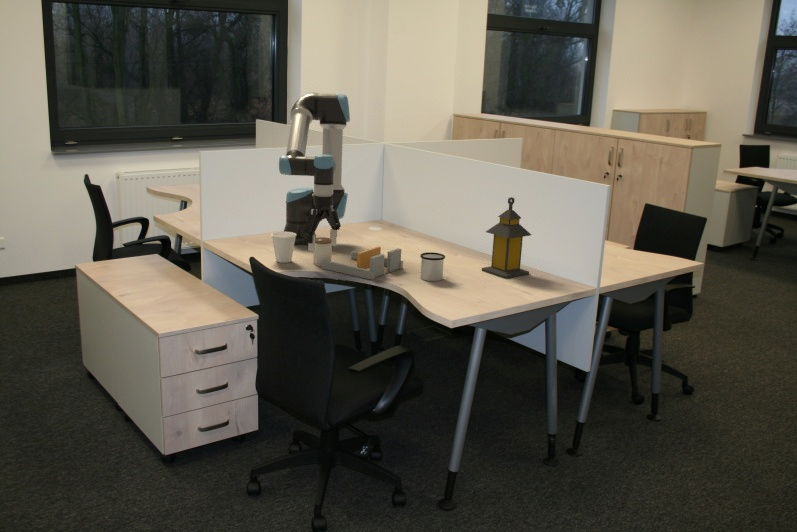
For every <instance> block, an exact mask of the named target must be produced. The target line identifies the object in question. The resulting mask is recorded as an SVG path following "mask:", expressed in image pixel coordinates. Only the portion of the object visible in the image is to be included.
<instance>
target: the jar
mask: <svg viewBox="0 0 797 532" xmlns="http://www.w3.org/2000/svg"><path fill="white" fill-rule="evenodd" d="M332 247H333V246H332V239H331V238H330V237H325V236H320V237H319V236H318V237H316V238H315V252H313V265H314V266H316V267H322V261H323V260H326V261H330V262H332Z"/></svg>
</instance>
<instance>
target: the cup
mask: <svg viewBox="0 0 797 532" xmlns="http://www.w3.org/2000/svg"><path fill="white" fill-rule="evenodd" d="M270 235H271V238H272V244H273V250H274V256H275V261H276V262H277V263H282V264H285V263H286V264H287V263H290V262H292V261H293V253H294V249H295V248H294V247H295V244H294V243H295V237H296V234H295V233H292V232H284V231H276V232H272V233H271V234H270Z"/></svg>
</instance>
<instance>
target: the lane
mask: <svg viewBox="0 0 797 532" xmlns="http://www.w3.org/2000/svg"><path fill="white" fill-rule="evenodd" d="M360 252H361V251H355V250H353V251H351V252H350V253H351V255H350V256H351V257H350V258H351V260H354V261H355V260H356V261H357V255H358V253H360ZM384 261H388V264H385V263H384ZM403 264H404V261H403V260H402V248H395V249H392V250H389V251H387V257H385V254H384V253H381V254H379V255H376V256H373V257H370V268H368V269H363V268H358V267H357V266H354V265H348V264H344V263H339V262H335V261H331V262H330V261H326V260H323V261H322V266H321V269H323V270H327V271H333V272H337V273H340V272H341V273H340V274H345V275H350V276H353V277H354V276H355V277H358V278H362V279H366V280H367V279H368V280H372V281H373V280H375V279H376V278H379V277H382V276H385V275H387V274H390V273H392V272H395V271H398V270H402V269H403V266H404V265H403ZM385 267H386V272H385ZM384 274H385V275H384Z"/></svg>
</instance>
